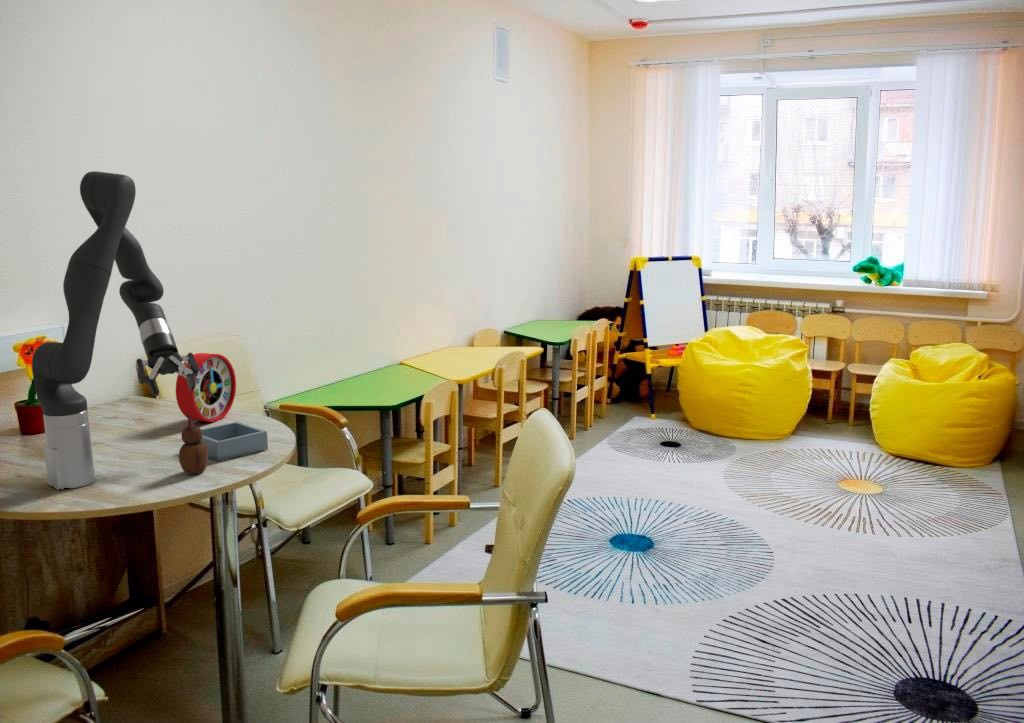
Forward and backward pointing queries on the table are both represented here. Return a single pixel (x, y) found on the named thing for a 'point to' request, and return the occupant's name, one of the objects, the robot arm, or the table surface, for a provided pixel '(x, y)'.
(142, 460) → the table surface
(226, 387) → the toy clock
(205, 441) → the box
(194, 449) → the wooden figurine
